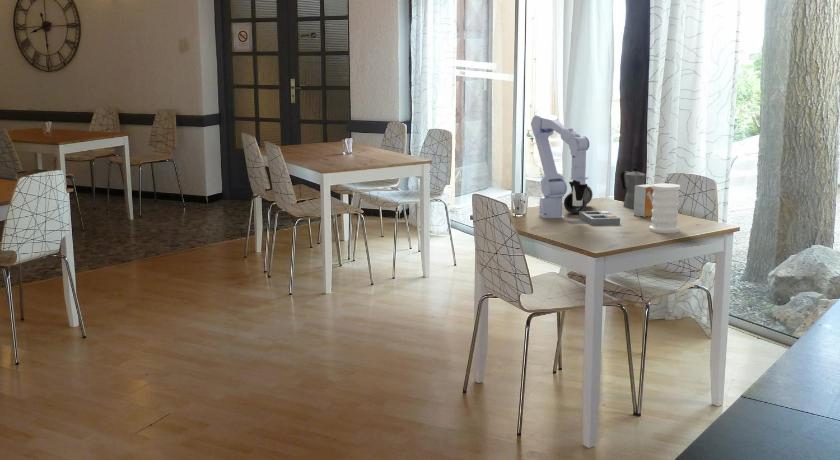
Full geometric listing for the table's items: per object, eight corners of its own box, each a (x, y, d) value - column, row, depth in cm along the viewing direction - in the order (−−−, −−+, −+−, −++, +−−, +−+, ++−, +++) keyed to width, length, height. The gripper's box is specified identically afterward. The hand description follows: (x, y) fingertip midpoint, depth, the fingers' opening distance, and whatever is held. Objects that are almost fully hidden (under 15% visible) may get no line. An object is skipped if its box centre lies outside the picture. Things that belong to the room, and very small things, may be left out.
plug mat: (570, 225, 381) (570, 223, 381) (566, 222, 388) (566, 220, 388) (587, 224, 382) (587, 223, 382) (582, 221, 389) (582, 220, 389)
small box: (644, 217, 397) (645, 187, 395) (633, 215, 402) (634, 185, 400) (657, 215, 402) (658, 185, 400) (645, 213, 407) (646, 183, 405)
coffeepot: (652, 207, 421) (653, 168, 418) (637, 209, 416) (638, 169, 413) (627, 203, 434) (628, 164, 430) (612, 205, 429) (613, 166, 425)
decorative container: (674, 227, 375) (676, 183, 372) (683, 233, 364) (685, 187, 361) (645, 227, 375) (647, 183, 372) (653, 233, 364) (655, 187, 360)
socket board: (591, 226, 379) (591, 218, 378) (578, 218, 396) (579, 210, 396) (619, 225, 380) (620, 217, 379) (606, 217, 397) (606, 210, 397)
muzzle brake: (562, 215, 403) (563, 191, 401) (571, 205, 430) (572, 182, 428) (585, 216, 401) (585, 192, 399) (592, 206, 427) (593, 183, 425)
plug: (574, 206, 381) (574, 186, 380) (571, 204, 385) (571, 185, 384) (583, 206, 382) (584, 186, 380) (580, 204, 386) (581, 185, 384)
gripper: (593, 168, 374) (592, 202, 376) (583, 164, 388) (582, 196, 391) (576, 169, 373) (575, 202, 376) (566, 164, 387) (565, 196, 390)
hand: (577, 199), depth 383 cm, fingers closed on plug, 4 cm apart
